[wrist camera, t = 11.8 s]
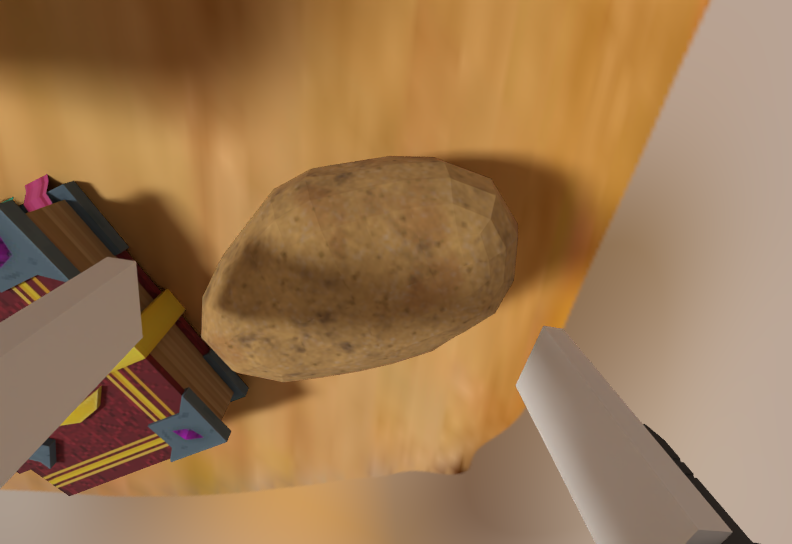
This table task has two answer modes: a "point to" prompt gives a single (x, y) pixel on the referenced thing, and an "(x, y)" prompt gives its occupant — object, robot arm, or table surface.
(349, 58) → the table surface
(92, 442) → the decorative book
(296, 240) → the potato
